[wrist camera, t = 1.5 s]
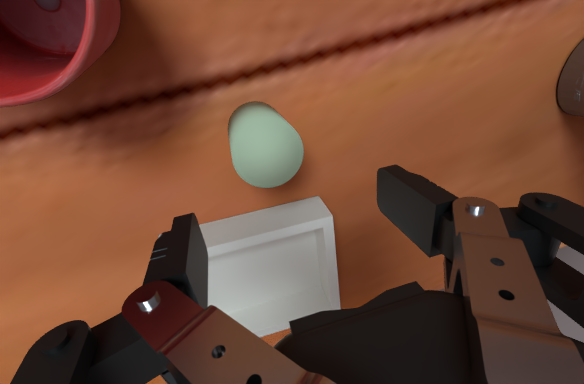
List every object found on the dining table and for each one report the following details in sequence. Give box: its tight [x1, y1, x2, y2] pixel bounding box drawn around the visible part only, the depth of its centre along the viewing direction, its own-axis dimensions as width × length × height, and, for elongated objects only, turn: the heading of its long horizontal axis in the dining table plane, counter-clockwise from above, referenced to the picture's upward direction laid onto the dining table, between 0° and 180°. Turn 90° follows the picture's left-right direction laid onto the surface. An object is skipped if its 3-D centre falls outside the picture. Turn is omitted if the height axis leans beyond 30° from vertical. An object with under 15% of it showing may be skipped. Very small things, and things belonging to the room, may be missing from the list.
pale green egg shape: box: [228, 101, 304, 188], centre depth 22 cm, size 5×5×7 cm
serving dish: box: [158, 196, 341, 337], centre depth 29 cm, size 16×13×4 cm
